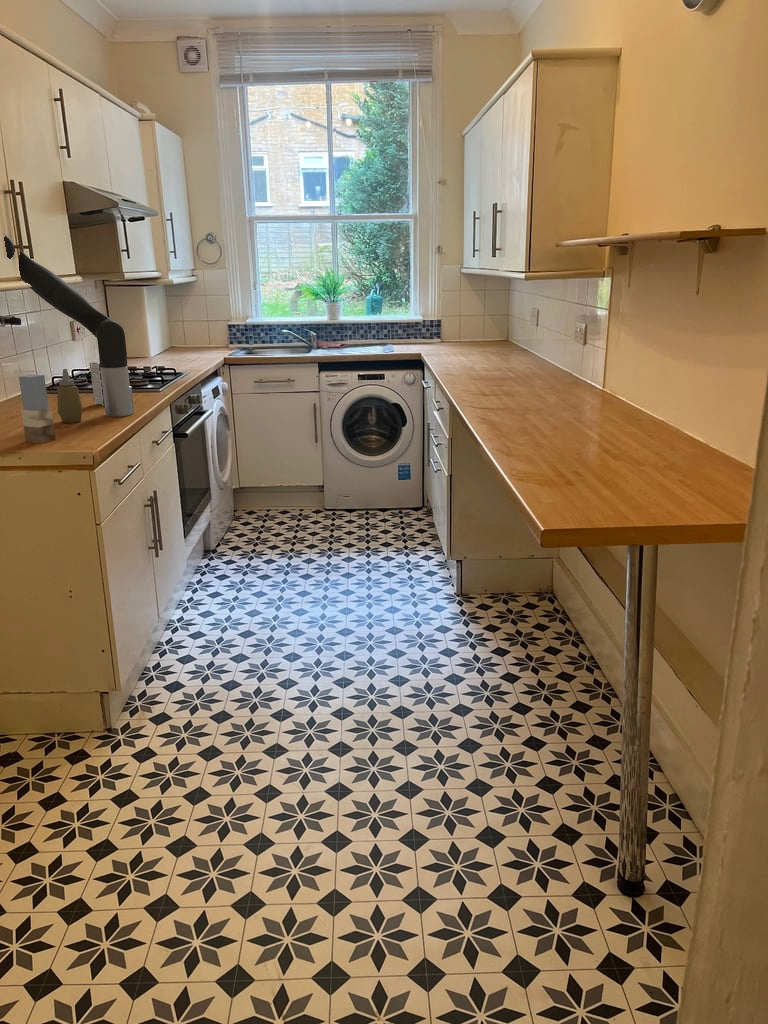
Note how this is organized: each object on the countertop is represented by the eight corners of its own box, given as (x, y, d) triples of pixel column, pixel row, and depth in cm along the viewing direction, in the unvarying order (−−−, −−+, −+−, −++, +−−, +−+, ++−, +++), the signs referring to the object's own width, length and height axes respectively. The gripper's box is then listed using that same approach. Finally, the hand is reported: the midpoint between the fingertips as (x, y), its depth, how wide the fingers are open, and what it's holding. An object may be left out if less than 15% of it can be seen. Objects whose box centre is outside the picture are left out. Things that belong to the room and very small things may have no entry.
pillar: (36, 406, 238) (31, 374, 235) (48, 407, 236) (44, 375, 233) (23, 409, 234) (18, 376, 231) (36, 410, 232) (31, 377, 229)
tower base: (40, 438, 242) (38, 422, 240) (55, 439, 240) (53, 423, 238) (25, 442, 237) (23, 426, 235) (40, 443, 234) (38, 427, 233)
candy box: (122, 399, 309) (117, 358, 304) (132, 400, 306) (127, 358, 301) (93, 404, 298) (88, 361, 293) (104, 406, 295) (99, 362, 290)
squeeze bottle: (55, 421, 267) (48, 369, 261) (78, 418, 272) (71, 367, 266) (65, 424, 261) (57, 371, 256) (88, 421, 267) (81, 369, 261)
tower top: (38, 422, 240) (36, 406, 239) (53, 423, 238) (50, 407, 237) (23, 426, 235) (20, 409, 233) (38, 427, 233) (35, 411, 231)
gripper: (-52, 310, 234) (-12, 311, 228) (-13, 307, 247) (25, 308, 241) (-48, 335, 236) (-8, 337, 231) (-10, 331, 249) (29, 333, 243)
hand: (9, 322), depth 236 cm, fingers open, 8 cm apart
